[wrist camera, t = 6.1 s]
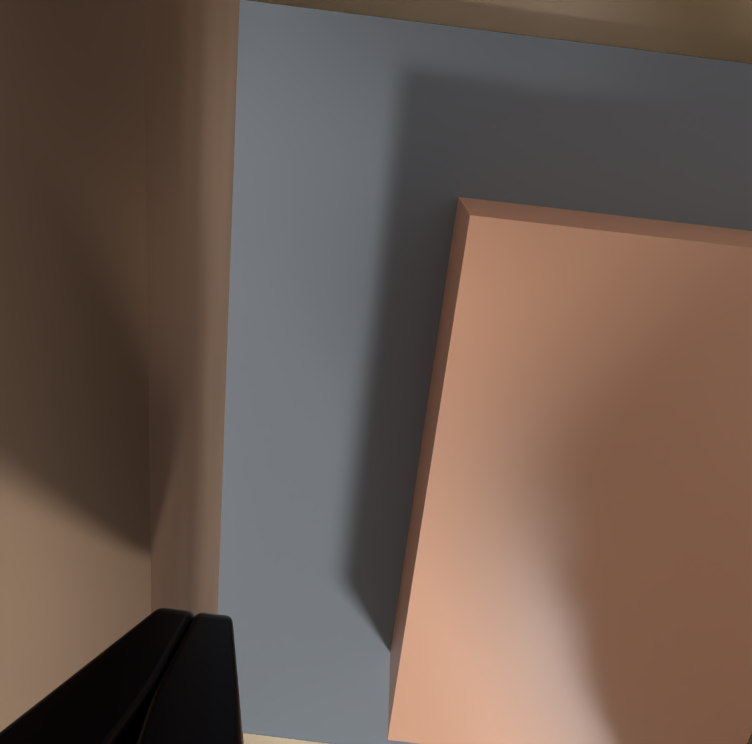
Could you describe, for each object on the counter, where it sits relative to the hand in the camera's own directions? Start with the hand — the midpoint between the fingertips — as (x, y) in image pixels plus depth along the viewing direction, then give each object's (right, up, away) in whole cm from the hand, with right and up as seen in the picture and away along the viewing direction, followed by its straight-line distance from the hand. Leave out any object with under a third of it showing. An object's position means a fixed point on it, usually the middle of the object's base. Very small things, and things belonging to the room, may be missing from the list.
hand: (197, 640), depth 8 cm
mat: (+4, +1, +5) cm, 6 cm away
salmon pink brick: (+6, 0, +2) cm, 6 cm away
